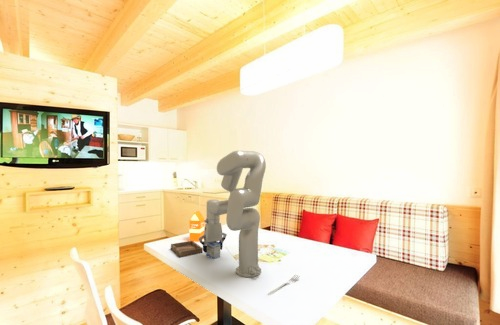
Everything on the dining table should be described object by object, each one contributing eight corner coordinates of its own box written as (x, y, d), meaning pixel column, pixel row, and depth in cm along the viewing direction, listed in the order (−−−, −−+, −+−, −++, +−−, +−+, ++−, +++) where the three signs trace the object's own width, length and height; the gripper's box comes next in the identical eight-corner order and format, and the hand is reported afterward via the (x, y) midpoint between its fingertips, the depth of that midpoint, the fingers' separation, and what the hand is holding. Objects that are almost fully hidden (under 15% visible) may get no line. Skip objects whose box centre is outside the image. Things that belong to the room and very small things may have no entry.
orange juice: (204, 238, 184) (204, 210, 184) (199, 241, 176) (199, 212, 176) (194, 237, 186) (194, 210, 186) (189, 241, 177) (189, 212, 177)
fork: (260, 297, 103) (260, 292, 103) (294, 277, 120) (294, 274, 120) (266, 299, 101) (266, 295, 101) (300, 279, 118) (300, 276, 118)
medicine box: (206, 256, 148) (205, 241, 148) (212, 254, 151) (211, 239, 152) (214, 259, 143) (214, 244, 143) (220, 257, 146) (220, 242, 146)
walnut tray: (202, 253, 153) (202, 248, 153) (179, 257, 146) (179, 252, 146) (192, 245, 168) (192, 240, 168) (171, 248, 161) (171, 244, 161)
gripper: (201, 224, 140) (201, 255, 140) (229, 220, 149) (229, 249, 149) (196, 221, 146) (196, 251, 146) (223, 218, 155) (223, 246, 155)
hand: (212, 250), depth 147 cm, fingers open, 9 cm apart
